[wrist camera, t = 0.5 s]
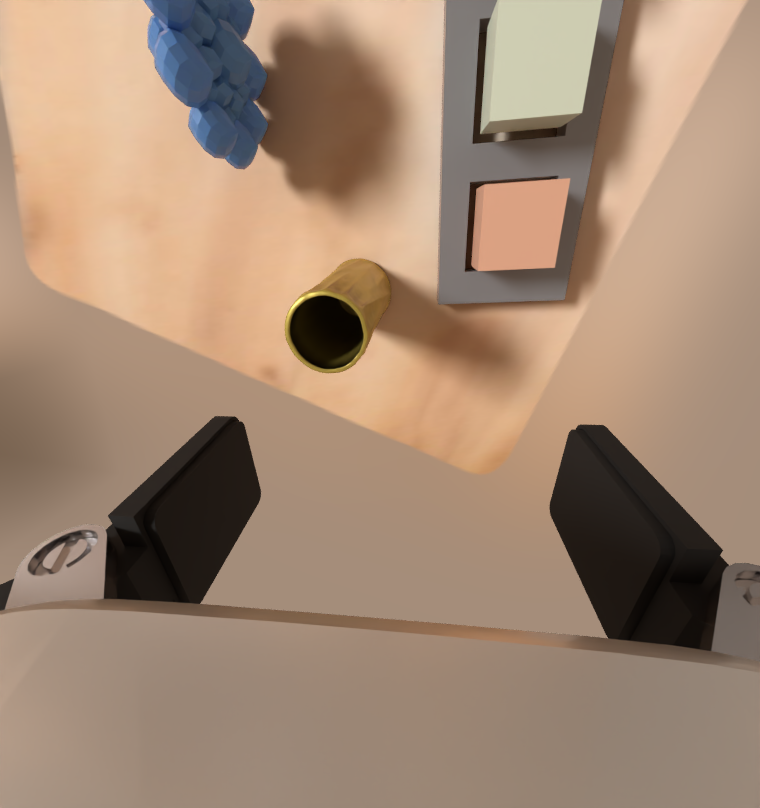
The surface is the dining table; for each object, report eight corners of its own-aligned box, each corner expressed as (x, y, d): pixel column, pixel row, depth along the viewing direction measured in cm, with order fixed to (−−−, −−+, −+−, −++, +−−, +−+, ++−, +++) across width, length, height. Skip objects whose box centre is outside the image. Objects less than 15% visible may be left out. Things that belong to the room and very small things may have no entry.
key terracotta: (476, 188, 26) (484, 184, 23) (551, 183, 26) (570, 178, 23) (471, 265, 29) (477, 271, 26) (539, 262, 28) (554, 267, 25)
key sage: (487, 26, 22) (499, -6, 19) (577, 15, 21) (605, -20, 18) (480, 134, 25) (489, 121, 22) (560, 127, 24) (581, 112, 21)
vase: (400, 272, 32) (390, 305, 19) (378, 331, 35) (357, 393, 22) (339, 248, 31) (288, 265, 19) (322, 310, 34) (268, 360, 22)
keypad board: (450, -258, 19) (455, -317, 17) (667, -305, 17) (700, -373, 15) (437, 299, 33) (438, 305, 31) (556, 295, 32) (565, 300, 29)
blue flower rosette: (187, -30, 24) (6, -230, 13) (282, -21, 24) (172, -217, 13) (211, 169, 29) (96, 140, 19) (287, 178, 29) (213, 153, 19)
